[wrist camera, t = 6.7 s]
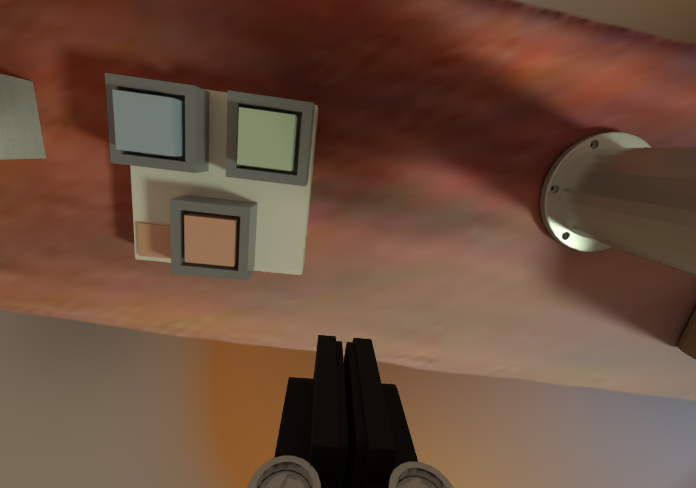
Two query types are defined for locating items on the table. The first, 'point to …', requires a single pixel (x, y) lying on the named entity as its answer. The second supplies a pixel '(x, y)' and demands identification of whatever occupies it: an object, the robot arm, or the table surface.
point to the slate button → (149, 123)
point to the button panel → (218, 182)
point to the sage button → (266, 139)
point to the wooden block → (689, 338)
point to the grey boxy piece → (19, 120)
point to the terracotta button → (211, 238)
